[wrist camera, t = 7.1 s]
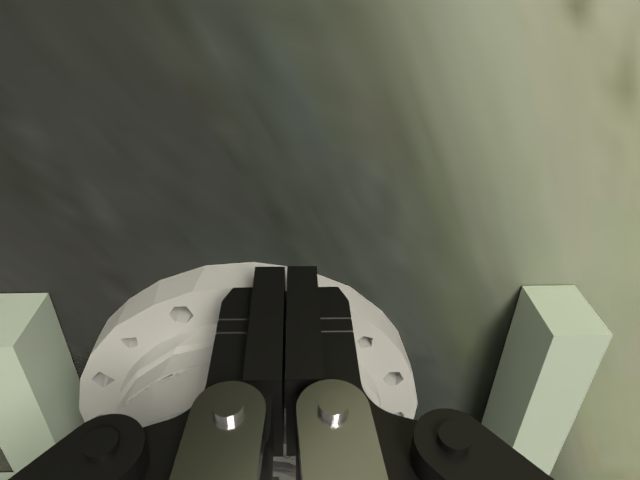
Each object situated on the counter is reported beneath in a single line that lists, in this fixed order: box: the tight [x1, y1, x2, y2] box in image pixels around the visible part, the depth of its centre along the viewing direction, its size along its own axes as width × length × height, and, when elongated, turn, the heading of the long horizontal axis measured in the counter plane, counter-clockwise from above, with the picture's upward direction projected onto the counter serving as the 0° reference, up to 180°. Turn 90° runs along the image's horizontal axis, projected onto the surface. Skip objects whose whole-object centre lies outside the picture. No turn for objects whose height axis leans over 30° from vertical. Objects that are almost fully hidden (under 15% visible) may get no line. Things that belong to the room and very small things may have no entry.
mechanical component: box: [79, 262, 418, 480], centre depth 14 cm, size 10×4×10 cm
